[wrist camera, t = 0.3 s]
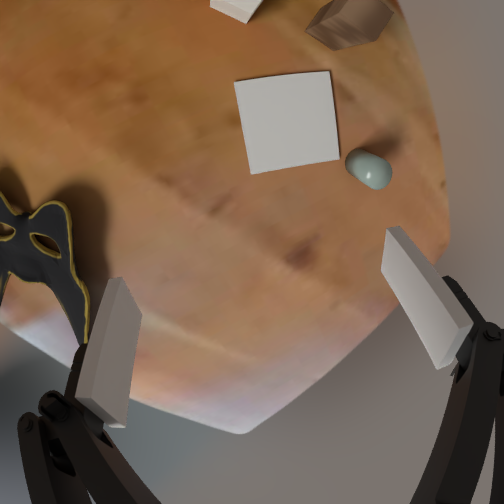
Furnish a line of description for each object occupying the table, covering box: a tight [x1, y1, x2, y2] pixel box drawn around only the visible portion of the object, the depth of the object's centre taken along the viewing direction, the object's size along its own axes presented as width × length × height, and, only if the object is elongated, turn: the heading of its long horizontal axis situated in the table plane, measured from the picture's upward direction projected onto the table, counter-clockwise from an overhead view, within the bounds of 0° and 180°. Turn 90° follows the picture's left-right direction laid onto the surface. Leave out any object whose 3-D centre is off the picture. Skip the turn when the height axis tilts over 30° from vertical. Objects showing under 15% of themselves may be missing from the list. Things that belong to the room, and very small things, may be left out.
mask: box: [0, 191, 90, 346], centre depth 38 cm, size 25×6×30 cm
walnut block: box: [304, 0, 394, 51], centre depth 25 cm, size 4×4×11 cm
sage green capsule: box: [345, 149, 392, 190], centre depth 37 cm, size 4×4×6 cm
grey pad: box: [234, 71, 339, 174], centre depth 36 cm, size 12×12×1 cm
